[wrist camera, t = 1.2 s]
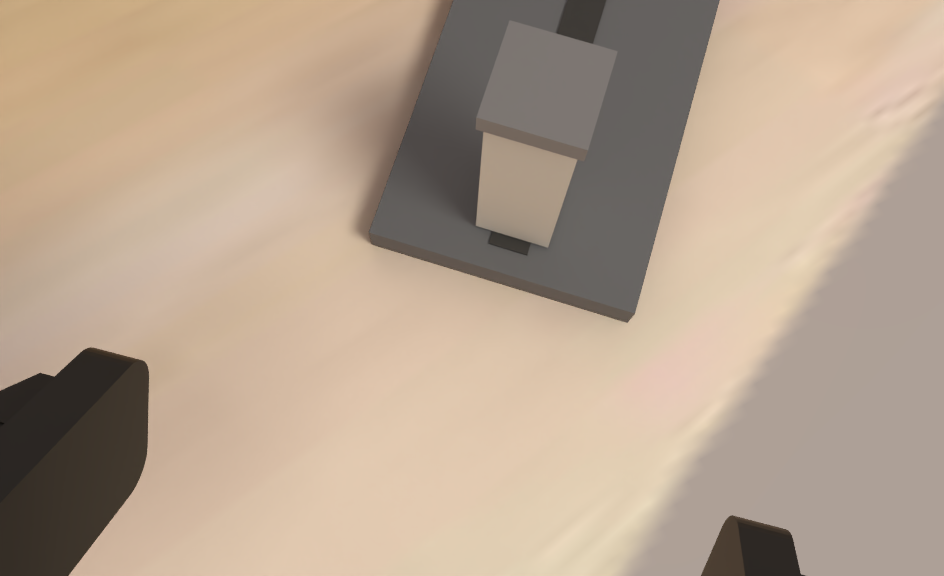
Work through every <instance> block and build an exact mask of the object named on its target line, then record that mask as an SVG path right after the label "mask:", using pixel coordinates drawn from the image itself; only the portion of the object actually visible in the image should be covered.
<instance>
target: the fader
mask: <svg viewBox="0 0 944 576" xmlns="http://www.w3.org/2000/svg"><path fill="white" fill-rule="evenodd" d="M617 52H618V51H615V50H612V49H608V48H605V47H601V46H598V45H594V44H591V43H587V42H584V41H580V40H577V39H573V38H570V37H567V36H563V35H560V34H556V33H553V32H549V31H546V30H542V29H539V28H535V27H532V26H528V25H525V24H521V23H518V22H514V21H511V20H510V21H509V23H508V26H507V29H506V32H505V35H504V38H503V41H502V44H501V47H500V50H499V53H498V56H497V59H496V61H495V64H494V67H493V70H492V73H491V76H490V79H489V82H488V85H487V88H486V91H485V94H484V96H483V99H482V102H481V105H480V108H479V111H478V114H477V117H476V130H479V131H482V132H483V143H482V155H481V167H480V180H479V192H478V205H477V217H476V226H478V227H481V228H484V229H488V230H491V231H494V232H497V233H501V234H504V235H507V236H511V237H514V238H517V239H521V240H524V241H527V242H531V243H534V244H537V245H540V246H544V247H547V248H548V246H549V243H550V240H551V237H552V234H553V231H554V228H555V225H556V222H557V219H558V216H559V213H560V210H561V207H562V204H563V201H564V198H565V195H566V192H567V189H568V186H569V183H570V180H571V177H572V174H573V171H574V168H575V165H576V163H577V160H580V161H584V160H585V157H586V155H587V152H588V149H589V145H590V142H591V139H592V135H593V132H594V129H595V126H596V122H597V119H598V116H599V112H600V109H601V106H602V102H603V99H604V96H605V92H606V89H607V86H608V82H609V79H610V76H611V72H612V69H613V66H614V62H615V59H616V56H617Z"/></svg>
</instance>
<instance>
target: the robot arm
mask: <svg viewBox="0 0 944 576" xmlns="http://www.w3.org/2000/svg"><path fill="white" fill-rule="evenodd" d="M148 393H149V371H148V367H147V364H146V363H145V362H144V361H142V360H139V359H135V358H131V357H127V356H123V355H119V354H116V353H112V352H108V351H104V350H100V349H96V348H87V349H85V350H83V351H82V352H81V353H80V354H79V355H77V356H76V357H75V358H74V359H73V360H72V361H71V362H70V363H69V364H68V365H67V366H66V367H65V368H64V369H62V370H61V371H60V372H59V373H58V374H57V375H56V376H55V377H53V376H50V375H46V374H42V373H39V374H37V375H35V376H32V377H30V378H28V379H26V380H23V381H21V382H19V383H17V384H14V385H12V386H10V387H8V388H5V389H3V390H1V391H0V576H68V575H69V574H70V573H71V571H72V570H73V569H74V568H75V566H76V565H77V564H78V562H79V561H80V560H81V558H82V557H83V556H84V555H85V553H86V552H87V551H88V549H89V548H90V547H91V545H92V544H93V543H94V542H95V540H96V539H97V538H98V536H99V535H100V534H101V532H102V531H103V530H104V528H105V527H106V526H107V525H108V523H109V522H110V521H111V519H112V518H113V517H114V515H115V514H116V513H117V512H118V510H119V509H120V508H121V506H122V505H123V504H124V502H125V501H126V500H127V499H128V497H129V496H130V494H131V493H132V492H133V490H134V488H135V487H136V485H137V483H138V481H139V478H140V476H141V473H142V470H143V467H144V464H145V460H146V455H147V443H148ZM701 576H804V575H801V574H800V569H799V565H798V560H797V556H796V551H795V547H794V542H793V538H792V535H791V533H790V532H789V531H788V530H786V529H782V528H779V527H775V526H771V525H767V524H763V523H759V522H755V521H752V520H748V519H744V518H740V517H736V516H730V517H728V518H727V520H726V521H725V523H724V524H723V526H722V529H721V531H720V533H719V536H718V538H717V540H716V543H715V545H714V547H713V549H712V552H711V554H710V556H709V559H708V561H707V563H706V565H705V568H704V570H703V572H702V575H701Z"/></svg>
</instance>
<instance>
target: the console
mask: <svg viewBox="0 0 944 576" xmlns="http://www.w3.org/2000/svg"><path fill="white" fill-rule="evenodd" d="M718 4H719V0H453V3H452V6H451V9H450V11H449V14H448V17H447V20H446V22H445V25H444V28H443V31H442V33H441V36H440V39H439V42H438V44H437V47H436V50H435V52H434V55H433V58H432V61H431V63H430V66H429V69H428V72H427V74H426V77H425V80H424V83H423V85H422V88H421V91H420V94H419V96H418V99H417V102H416V105H415V107H414V110H413V113H412V116H411V118H410V121H409V124H408V127H407V129H406V132H405V135H404V137H403V140H402V143H401V146H400V148H399V151H398V154H397V157H396V159H395V162H394V165H393V168H392V170H391V173H390V176H389V179H388V181H387V184H386V187H385V190H384V192H383V195H382V198H381V201H380V203H379V206H378V209H377V211H376V214H375V217H374V220H373V222H372V225H371V228H370V231H369V235H370V239H371V242H372V244H373V245H376V246H379V247H382V248H386V249H389V250H392V251H395V252H399V253H402V254H405V255H408V256H412V257H415V258H418V259H422V260H425V261H428V262H431V263H435V264H438V265H441V266H444V267H448V268H451V269H454V270H457V271H461V272H464V273H467V274H470V275H474V276H477V277H480V278H484V279H487V280H490V281H493V282H497V283H500V284H503V285H506V286H510V287H513V288H516V289H519V290H523V291H526V292H529V293H533V294H536V295H539V296H542V297H546V298H549V299H552V300H555V301H559V302H562V303H565V304H568V305H572V306H575V307H578V308H582V309H585V310H588V311H591V312H595V313H598V314H601V315H604V316H608V317H611V318H614V319H617V320H621V321H624V322H627V323H628V321H629V320H630V319H631V318H632V316H633V315H634V314H635V311H636V307H637V304H638V300H639V296H640V293H641V289H642V285H643V281H644V278H645V274H646V270H647V267H648V263H649V259H650V256H651V252H652V248H653V244H654V241H655V237H656V233H657V230H658V226H659V222H660V219H661V215H662V211H663V207H664V204H665V200H666V196H667V193H668V189H669V185H670V182H671V178H672V174H673V170H674V167H675V163H676V159H677V156H678V152H679V148H680V145H681V141H682V137H683V134H684V130H685V126H686V122H687V119H688V115H689V111H690V108H691V104H692V100H693V97H694V93H695V89H696V85H697V82H698V78H699V74H700V71H701V67H702V63H703V60H704V56H705V52H706V48H707V45H708V41H709V37H710V34H711V30H712V26H713V23H714V19H715V15H716V11H717V8H718ZM510 20H511V21H514V22H518V23H521V24H525V25H528V26H532V27H535V28H539V29H542V30H546V31H549V32H553V33H556V34H560V35H563V36H567V37H570V38H573V39H577V40H580V41H584V42H587V43H591V44H594V45H598V46H601V47H605V48H608V49H612V50H615V51H618V52H617V56H616V59H615V62H614V66H613V69H612V72H611V76H610V79H609V82H608V86H607V89H606V92H605V96H604V99H603V102H602V106H601V109H600V112H599V116H598V119H597V122H596V126H595V129H594V132H593V135H592V139H591V142H590V145H589V149H588V152H587V155H586V157H585V160H584V161H580V160H577V163H576V165H575V168H574V171H573V174H572V177H571V180H570V183H569V186H568V189H567V192H566V195H565V198H564V201H563V204H562V207H561V210H560V213H559V216H558V219H557V222H556V225H555V228H554V231H553V234H552V237H551V240H550V243H549V246H548V248H547V247H544V246H540V245H537V244H534V243H531V242H527V241H524V240H521V239H517V238H514V237H511V236H507V235H504V234H501V233H497V232H494V231H491V230H488V229H484V228H481V227H478V226H476V217H477V205H478V192H479V180H480V167H481V155H482V143H483V132H482V131H479V130H476V117H477V114H478V111H479V108H480V105H481V102H482V99H483V96H484V94H485V91H486V88H487V85H488V82H489V79H490V76H491V73H492V70H493V67H494V64H495V61H496V59H497V56H498V53H499V50H500V47H501V44H502V41H503V38H504V35H505V32H506V29H507V26H508V23H509V21H510Z"/></svg>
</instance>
